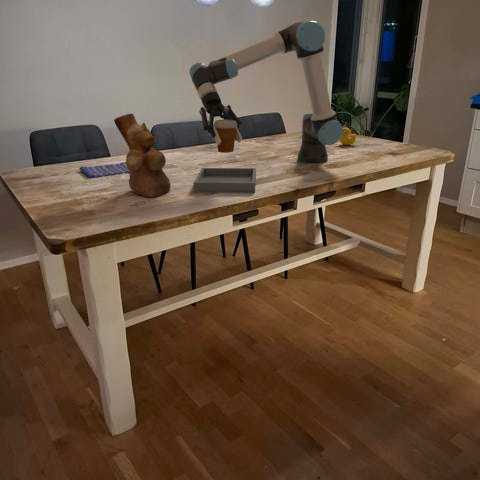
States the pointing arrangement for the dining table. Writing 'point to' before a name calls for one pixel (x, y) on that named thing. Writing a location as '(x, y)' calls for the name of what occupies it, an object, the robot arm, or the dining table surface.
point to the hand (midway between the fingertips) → (229, 141)
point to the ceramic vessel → (143, 158)
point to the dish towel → (105, 170)
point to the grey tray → (226, 180)
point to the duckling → (345, 139)
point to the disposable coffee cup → (226, 134)
